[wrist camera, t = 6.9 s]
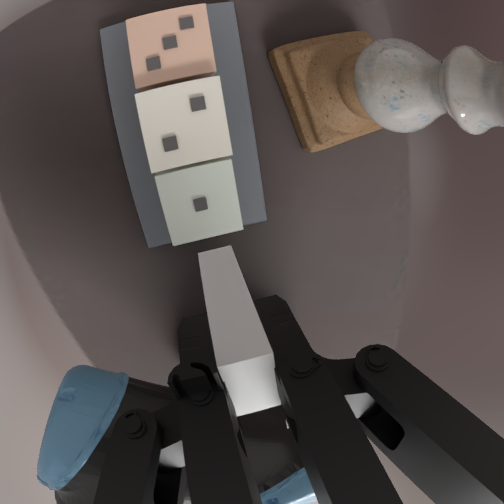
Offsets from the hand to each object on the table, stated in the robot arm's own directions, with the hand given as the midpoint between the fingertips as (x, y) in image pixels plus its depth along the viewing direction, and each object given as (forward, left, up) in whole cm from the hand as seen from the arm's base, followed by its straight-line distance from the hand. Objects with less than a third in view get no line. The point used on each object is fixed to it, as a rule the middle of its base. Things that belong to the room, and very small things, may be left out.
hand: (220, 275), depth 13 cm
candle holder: (+8, -15, -17) cm, 24 cm away
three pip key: (+13, 0, -14) cm, 19 cm away
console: (+7, 0, -16) cm, 17 cm away
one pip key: (0, 0, -14) cm, 14 cm away
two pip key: (+7, 0, -13) cm, 15 cm away
